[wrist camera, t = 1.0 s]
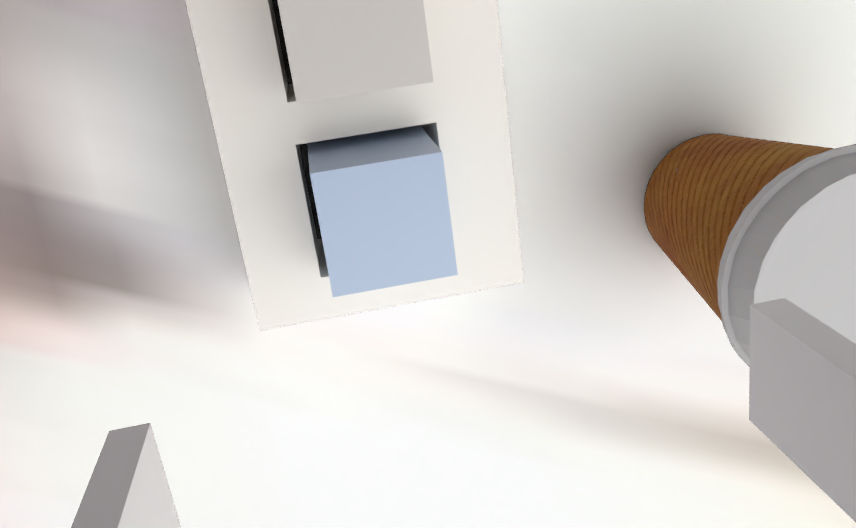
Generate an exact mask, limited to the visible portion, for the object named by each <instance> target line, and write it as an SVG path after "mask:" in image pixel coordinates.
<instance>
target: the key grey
mask: <svg viewBox="0 0 856 528" xmlns="http://www.w3.org/2000/svg"><path fill="white" fill-rule="evenodd" d="M277 1H278V6H279V12H280V17H281V22H282V28H283V33H284V39H285V44H286V49H287V55H288V60H289V65H290V71H291V76H292V81H293V87H294V92H295V97H296V103H302V102H308V101H315V100H321V99H327V98H334V97H340V96H347V95H353V94H359V93H366V92H372V91H379V90H385V89H392V88H398V87H404V86H411V85H417V84H424V83H430V82H433V74H432V66H431V58H430V51H429V43H428V35H427V27H426V19H425V11H424V3H423V0H277Z"/></svg>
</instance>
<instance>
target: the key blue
mask: <svg viewBox="0 0 856 528" xmlns="http://www.w3.org/2000/svg"><path fill="white" fill-rule="evenodd" d="M307 148H308V159H309V171H310V178H311V183H312V188H313V194H314V199H315V204H316V210H317V215H318V220H319V226H320V231H321V237H322V242H323V247H324V253H325V258H326V263H327V269H328V274H329V279H330V285H331V290H332V295H333V297H338V296H343V295H349V294H354V293H360V292H366V291H371V290H377V289H382V288H388V287H393V286H399V285H404V284H410V283H415V282H421V281H426V280H432V279H437V278H443V277H449V276H454V275H458V273H457V265H456V257H455V249H454V241H453V233H452V225H451V217H450V209H449V201H448V193H447V185H446V177H445V169H444V162H443V154H442V151H441V150H440V149H439V147H438V146H437V145H436V144H435V143H434V141H433V140H432V139H431V138H430V137H429V135H428V134H427V133H426V132H425V131H424V130H423V128H422V127H421V126H420V125H417V126H410V127H404V128H398V129H392V130H386V131H379V132H373V133H367V134H361V135H355V136H348V137H342V138H336V139H330V140H323V141H317V142H311V143H307Z"/></svg>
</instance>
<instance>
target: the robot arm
mask: <svg viewBox="0 0 856 528" xmlns="http://www.w3.org/2000/svg"><path fill="white" fill-rule="evenodd" d="M749 420H750V421H751V422H752V423H753V424H754V425H755V426H756V427H757V428H758V429H759V430H761V431H762V432H763V433H764V434H765V435H766V436H767V437H768V438H769V439H770V440H771V441H772V442H773V443H774V444H775V445H776V446H777V447H778V448H779V449H780V450H781V451H782V452H783V453H784V454H785V455H786V456H788V457H789V458H790V459H791V460H792V461H793V462H794V463H795V464H796V465H797V466H798V467H799V468H800V469H801V470H802V471H803V472H804V473H805V474H806V475H807V476H808V477H809V478H810V479H811V480H812V481H813V482H814V483H816V484H817V485H818V486H819V487H820V488H821V489H822V490H823V491H824V492H825V493H826V494H827V495H828V496H829V497H830V498H831V499H832V500H833V501H834V502H835V503H836V504H837V505H838V506H839V507H840V508H841V509H843V510H844V511H845V512H846V513H847V514H848V515H849V516H850V517H851V518H852V519H853V520H854V521H855V522H856V344H855V343H853V342H852V341H850V340H849V339H847V338H846V337H844V336H843V335H841V334H839V333H838V332H836V331H835V330H833V329H832V328H830V327H829V326H827V325H826V324H824V323H823V322H821V321H819V320H818V319H816V318H815V317H813V316H812V315H810V314H809V313H807V312H806V311H804V310H803V309H801V308H799V307H798V306H796V305H795V304H793V303H792V302H790V301H789V300H787V299H786V298H782V299H777V300H771V301H766V302H761V303H756V304H751V305H750V386H749ZM71 528H181V526H180V522H179V519H178V515H177V512H176V509H175V505H174V502H173V498H172V495H171V492H170V488H169V485H168V482H167V478H166V475H165V471H164V468H163V465H162V461H161V458H160V454H159V451H158V448H157V444H156V441H155V437H154V434H153V431H152V427H151V424H150V423H147V424H142V425H137V426H132V427H127V428H122V429H117V430H112V431H109V433H108V436H107V438H106V441H105V443H104V446H103V448H102V451H101V453H100V456H99V458H98V461H97V464H96V466H95V469H94V471H93V474H92V476H91V479H90V481H89V484H88V486H87V489H86V491H85V494H84V496H83V499H82V501H81V504H80V507H79V509H78V512H77V514H76V517H75V519H74V522H73V524H72V527H71Z"/></svg>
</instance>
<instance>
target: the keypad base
mask: <svg viewBox="0 0 856 528" xmlns="http://www.w3.org/2000/svg"><path fill="white" fill-rule="evenodd" d="M185 2H186V7H187V11H188V15H189V20H190V24H191V29H192V33H193V38H194V42H195V47H196V51H197V55H198V60H199V64H200V69H201V73H202V78H203V82H204V86H205V91H206V95H207V100H208V104H209V109H210V113H211V118H212V122H213V126H214V131H215V135H216V140H217V144H218V149H219V153H220V157H221V162H222V166H223V171H224V175H225V180H226V184H227V189H228V193H229V197H230V202H231V206H232V211H233V215H234V220H235V224H236V228H237V233H238V237H239V242H240V246H241V251H242V255H243V260H244V264H245V268H246V273H247V277H248V282H249V286H250V291H251V295H252V300H253V304H254V308H255V313H256V317H257V322H258V326H259V331H263V330H268V329H274V328H279V327H285V326H290V325H296V324H301V323H306V322H312V321H317V320H323V319H328V318H334V317H339V316H345V315H350V314H356V313H361V312H367V311H372V310H377V309H383V308H388V307H394V306H399V305H405V304H410V303H416V302H421V301H427V300H432V299H437V298H443V297H448V296H454V295H459V294H465V293H470V292H476V291H481V290H487V289H492V288H498V287H503V286H508V285H514V284H519V283H524V278H523V268H522V257H521V247H520V236H519V226H518V215H517V205H516V194H515V184H514V173H513V163H512V152H511V142H510V131H509V121H508V110H507V100H506V89H505V79H504V68H503V58H502V47H501V37H500V26H499V16H498V5H497V0H423V3H424V11H425V19H426V27H427V35H428V43H429V51H430V58H431V66H432V74H433V82H430V83H424V84H417V85H411V86H404V87H398V88H392V89H385V90H379V91H372V92H366V93H359V94H353V95H347V96H340V97H334V98H327V99H321V100H315V101H308V102H302V103H296V97H295V92H294V87H293V84H292V85H288V82H287V77H286V72H285V66H284V61H283V56H282V51H281V45H280V40H279V35H278V29H277V24H276V19H275V13H274V8H273V3H272V0H185ZM417 125H421V127H422V128H423V130H424V131H425V132H426V133H427V134H428V135H429V137H430V138H431V139H432V140H433V141H434V143H435V144H436V145H437V146H438V147H439V149H440V150H441V151H442V154H443V162H444V169H445V177H446V185H447V193H448V201H449V209H450V217H451V225H452V233H453V241H454V249H455V257H456V265H457V273H458V275H454V276H449V277H443V278H437V279H432V280H426V281H421V282H415V283H410V284H404V285H399V286H393V287H388V288H382V289H377V290H371V291H366V292H360V293H354V294H349V295H343V296H338V297H333V295H332V290H331V285H330V279H329V274H328V269H327V263H326V258H325V253H324V247H323V242H322V239H317V236H316V230H315V225H314V220H313V214H312V209H311V204H310V199H309V193H308V188H307V183H306V177H305V172H304V167H303V162H302V156H301V151H300V146H299V144H305V143H311V142H317V141H323V140H330V139H336V138H342V137H348V136H355V135H361V134H367V133H373V132H379V131H386V130H392V129H398V128H404V127H410V126H417Z"/></svg>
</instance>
